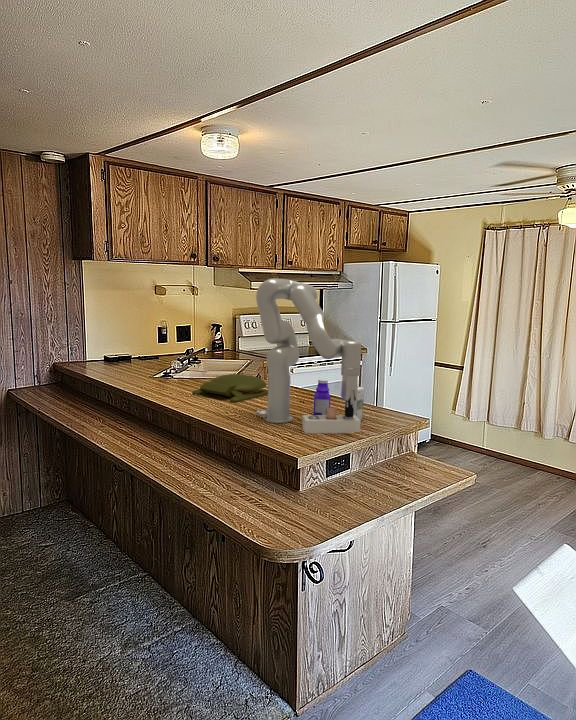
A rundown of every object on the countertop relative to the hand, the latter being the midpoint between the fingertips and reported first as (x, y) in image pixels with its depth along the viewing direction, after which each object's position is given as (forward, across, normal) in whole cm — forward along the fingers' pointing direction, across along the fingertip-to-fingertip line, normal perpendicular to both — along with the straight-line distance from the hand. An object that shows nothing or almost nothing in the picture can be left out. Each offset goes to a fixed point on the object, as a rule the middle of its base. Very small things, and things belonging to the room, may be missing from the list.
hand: (349, 416), depth 216 cm
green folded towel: (+6, -71, -46) cm, 85 cm away
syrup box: (+6, -16, +6) cm, 18 cm away
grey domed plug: (+5, 0, 0) cm, 5 cm away
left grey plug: (+5, 0, -14) cm, 15 cm away
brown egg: (+2, 0, -7) cm, 8 cm away
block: (+6, 0, -7) cm, 9 cm away
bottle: (+6, -18, -8) cm, 21 cm away
